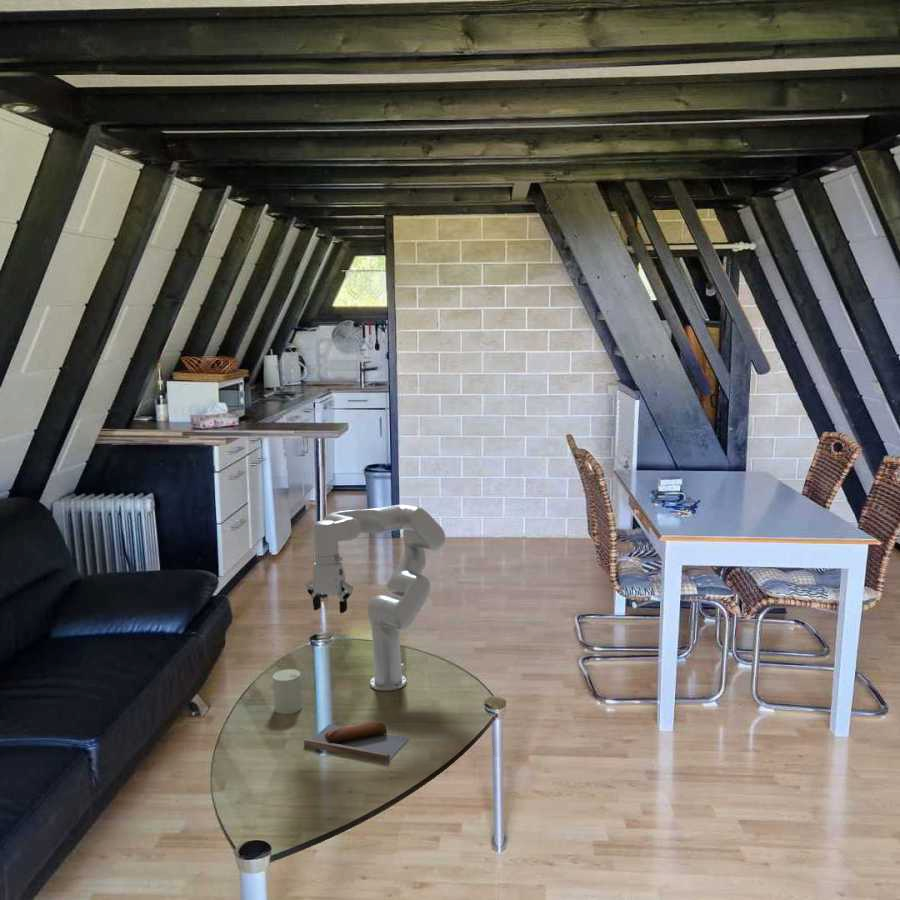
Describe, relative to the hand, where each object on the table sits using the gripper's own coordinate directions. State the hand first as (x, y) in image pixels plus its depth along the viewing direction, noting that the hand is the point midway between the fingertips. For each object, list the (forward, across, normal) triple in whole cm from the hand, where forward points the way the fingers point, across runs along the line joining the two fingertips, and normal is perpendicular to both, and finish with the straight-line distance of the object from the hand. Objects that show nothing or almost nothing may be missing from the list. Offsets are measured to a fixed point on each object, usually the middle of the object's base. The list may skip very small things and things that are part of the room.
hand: (330, 610), depth 266 cm
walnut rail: (+33, -18, +25) cm, 45 cm away
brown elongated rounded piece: (+33, -16, +15) cm, 40 cm away
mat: (+33, -18, +18) cm, 42 cm away
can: (+34, +15, +5) cm, 37 cm away
